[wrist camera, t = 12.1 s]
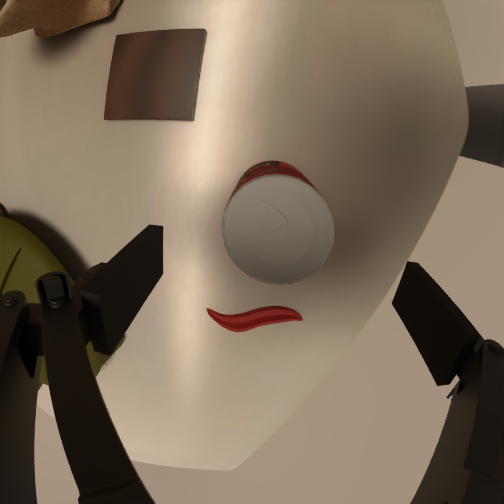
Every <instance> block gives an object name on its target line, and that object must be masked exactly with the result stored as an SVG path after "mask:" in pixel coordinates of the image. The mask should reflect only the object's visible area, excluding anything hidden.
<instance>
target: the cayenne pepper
mask: <svg viewBox="0 0 504 504" xmlns="http://www.w3.org/2000/svg"><path fill="white" fill-rule="evenodd" d="M207 312H208V314H209V315H210V317H211V318H212V319H213V320H214V321H216V322H217V323H218V324H219V325H221V326H222V327H224V328H226V329H228V330H231V331H234V332H244V331H247V330H250V329H253V328H256V327H259V326H263V325H268V324H273V323H280V322H286V321H293V320H297V321H302V320H303V319H302V317H301V315H300V314H298V313H297V312H296V311H294V310H293V309H290V308H287V307H281V306H271V307H264V308H259V309H256V310H253V311H249V312H246V313H242V314H237V315H223V314H219V313H217V312H215V311H212V310H210V309H207Z"/></svg>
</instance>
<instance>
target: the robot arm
mask: <svg viewBox="0 0 504 504" xmlns="http://www.w3.org/2000/svg"><path fill="white" fill-rule="evenodd" d="M162 275H163V226H158V225H150V224H149V225H148V226H147V227H146V228H145V229H144V230H143V231H141V232H140V233H139V234H138V235H137V236H136V237H135V238H134V239H132V240H131V241H130V242H129V243H128V244H127V245H126V246H125V247H124V248H123V249H121V250H120V251H119V252H118V253H117V254H116V255H115V256H114V257H113V258H112V259H111V260H110V261H109V262H108V263H103V262H102V263H99V264H97V265H95V266H93V267H92V268H91V269H89V270H88V271H87V272H86V274H84V275H83V276H82V277H81V279H79V280H78V281H77V282H76V283H75V284H73V285H72V286H71V283H70V278H69V276H68V274H66V273H64V272H60V271H54V272H49V273H45V274H43V275H42V276H40V277H39V278H38V279H37V280H36V282H35V286H36V290H37V294H38V298H39V302H40V303H27V300H26V296H25V294H24V293H23V292H21V291H17V290H14V291H8V292H6V293H4V294H3V295H2V296H0V504H37V497H36V486H35V467H34V436H35V417H36V404H37V395H38V386H39V378H40V372H41V365H42V359H43V356H44V358H45V365H46V372H47V379H48V384H49V390H50V395H51V400H52V405H53V409H54V414H55V418H56V422H57V426H58V430H59V433H60V437H61V440H62V444H63V447H64V450H65V454H66V457H67V460H68V463H69V465H70V468H71V471H72V474H73V476H74V479H75V482H76V484H77V487H78V490H79V494H80V496H79V498H78V502H79V504H156V503H155V502H154V500H153V499H152V497H151V495H150V494H149V492H148V491H147V489H146V487H145V486H144V484H143V482H142V480H141V478H140V477H139V475H138V473H137V471H136V469H135V468H134V466H133V464H132V462H131V460H130V458H129V456H128V454H127V452H126V450H125V448H124V446H123V444H122V442H121V439H120V437H119V435H118V433H117V431H116V428H115V426H114V424H113V422H112V419H111V417H110V414H109V412H108V410H107V407H106V405H105V402H104V399H103V397H102V394H101V391H100V389H99V386H98V383H97V380H96V377H95V374H94V371H93V368H92V365H91V362H90V359H89V355H88V352H87V349H86V346H87V345H88V343H89V342H90V340H91V342H92V346H93V350H94V351H95V352H98V353H101V354H105V355H108V356H111V355H112V354H113V352H114V350H115V349H116V347H117V345H118V344H119V342H120V340H121V339H122V337H123V336H124V334H125V332H126V331H127V329H128V327H129V326H130V324H131V323H132V321H133V319H134V318H135V316H136V315H137V313H138V312H139V310H140V308H141V307H142V305H143V304H144V302H145V301H146V299H147V298H148V296H149V294H150V293H151V291H152V290H153V288H154V287H155V285H156V284H157V282H158V281H159V279H160V278H161V276H162ZM392 305H393V306H394V308H395V310H396V312H397V313H398V315H399V316H400V318H401V320H402V321H403V323H404V325H405V327H406V329H407V330H408V332H409V334H410V336H411V337H412V339H413V341H414V342H415V344H416V346H417V348H418V350H419V352H420V354H421V355H422V357H423V359H424V361H425V363H426V365H427V367H428V369H429V371H430V372H431V374H432V376H433V378H434V380H435V382H436V384H437V386H441V385H449V384H450V383H451V382H452V380H453V379H454V377H455V376H456V374H457V376H458V377H459V379H460V380H459V381H458V382H457V384H456V385H455V387H454V388H453V389H452V391H451V392H450V393H449V395H448V396H447V398H449V397H450V396H452V395H453V396H452V399H451V404H450V407H449V411H448V414H447V417H446V420H445V424H444V427H443V429H442V432H441V435H440V438H439V441H438V444H437V446H436V449H435V452H434V454H433V456H432V459H431V461H430V464H429V466H428V468H427V471H426V473H425V475H424V477H423V479H422V482H421V484H420V486H419V488H418V490H417V492H416V494H415V496H414V498H413V500H412V501H411V503H410V504H504V348H503V347H502V346H501V345H500V344H499V343H497V342H495V341H494V340H491V339H487V340H484V339H483V338H482V336H481V335H480V334H479V333H478V331H477V330H476V329H475V327H474V326H473V325H472V324H471V322H470V321H469V320H468V319H467V317H466V316H465V315H464V314H463V313H462V311H461V310H460V309H459V308H458V307H457V305H456V304H455V303H454V302H453V301H452V300H451V298H450V297H449V296H448V295H447V294H446V293H445V292H444V291H443V290H442V288H441V287H440V286H439V285H438V284H437V283H436V282H435V281H434V279H432V277H431V276H430V275H429V274H428V273H427V272H426V271H425V270H424V269H423V268H422V267H421V266H420V265H419V263H415V262H409V261H407V263H406V266H405V269H404V272H403V275H402V278H401V280H400V283H399V286H398V288H397V291H396V294H395V296H394V299H393V301H392Z"/></svg>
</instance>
